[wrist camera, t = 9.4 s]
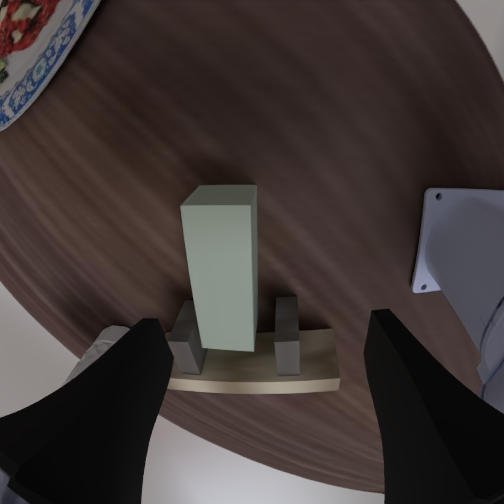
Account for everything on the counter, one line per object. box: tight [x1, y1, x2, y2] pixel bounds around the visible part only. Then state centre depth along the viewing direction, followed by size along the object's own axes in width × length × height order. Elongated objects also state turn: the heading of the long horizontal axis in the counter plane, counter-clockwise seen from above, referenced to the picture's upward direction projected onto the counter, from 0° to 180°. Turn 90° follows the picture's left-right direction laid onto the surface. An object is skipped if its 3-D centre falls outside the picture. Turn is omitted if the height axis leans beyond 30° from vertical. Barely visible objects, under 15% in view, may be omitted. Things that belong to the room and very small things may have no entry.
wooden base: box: [165, 296, 340, 394], centre depth 20 cm, size 14×5×5 cm, turn 97°
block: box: [180, 185, 258, 352], centre depth 18 cm, size 4×10×4 cm, turn 1°
